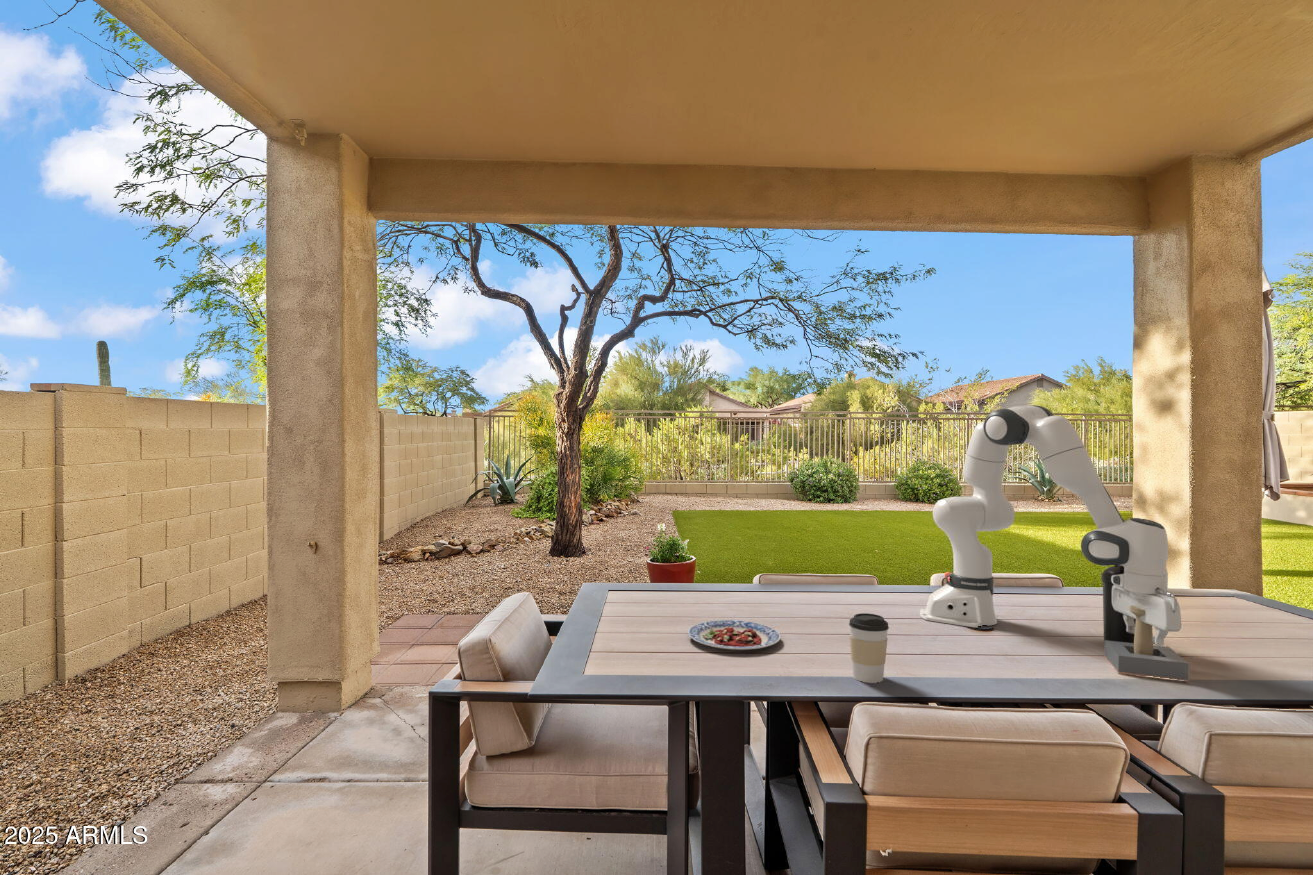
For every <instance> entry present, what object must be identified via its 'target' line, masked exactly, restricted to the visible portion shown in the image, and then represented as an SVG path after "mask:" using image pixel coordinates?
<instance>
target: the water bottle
mask: <svg viewBox="0 0 1313 875" xmlns="http://www.w3.org/2000/svg"><path fill="white" fill-rule="evenodd" d="M1119 574H1124V567H1123V566H1122V565H1111V566H1108V567H1107V568H1105V569H1104V570H1103V572H1101V574H1100V575H1101V577H1100V578H1101V579H1100V580H1101V582H1102V609H1103V610H1102V611H1103V613H1102V615H1103V617H1102V620H1103V623H1102V624H1103V645H1104V646H1105V640H1108V641H1117V642H1126V643H1134V635H1135V634H1131V633H1128V632H1127V631H1126V628H1127V625H1126V623H1125V621H1124V618H1123V613H1120V612H1118V611H1115V610H1114V608H1113V606H1112V587H1113V585H1114V584H1113V583H1112V582H1111V577H1112V576H1113V575H1119ZM1134 623H1135V624H1136V619H1134Z"/></svg>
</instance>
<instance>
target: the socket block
mask: <svg viewBox="0 0 1313 875" xmlns="http://www.w3.org/2000/svg"><path fill="white" fill-rule="evenodd" d="M1103 649H1104V654H1103V655H1104V659H1105V660H1106V661H1107V660H1108V661H1109V662H1108V661H1107V662H1108V664H1110V666H1111V665H1112V666H1113V667H1114V668H1113V667H1112V666H1111V667H1112V668H1113V669H1114V671H1115V672H1116V671H1117V672H1118V673H1121V674H1120V675H1125V674H1130V675H1129V676H1133V675H1138V676H1137V677H1141V676H1153V677H1160V678H1169V679H1177V680H1184V681H1188V682H1189V662H1187V661H1186V660H1185V659H1184V658H1182V657H1181V656H1180V655H1179V654H1178V653H1177V652H1175V651H1174V649H1172V648H1171V647H1169V646H1164V645H1163V646H1157V645H1155V644H1153V656H1151V655H1142V654H1134V643H1126V642H1117V641H1108V640H1105V645H1104V648H1103ZM1117 672H1116V673H1117ZM1118 673H1117V674H1118Z"/></svg>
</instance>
